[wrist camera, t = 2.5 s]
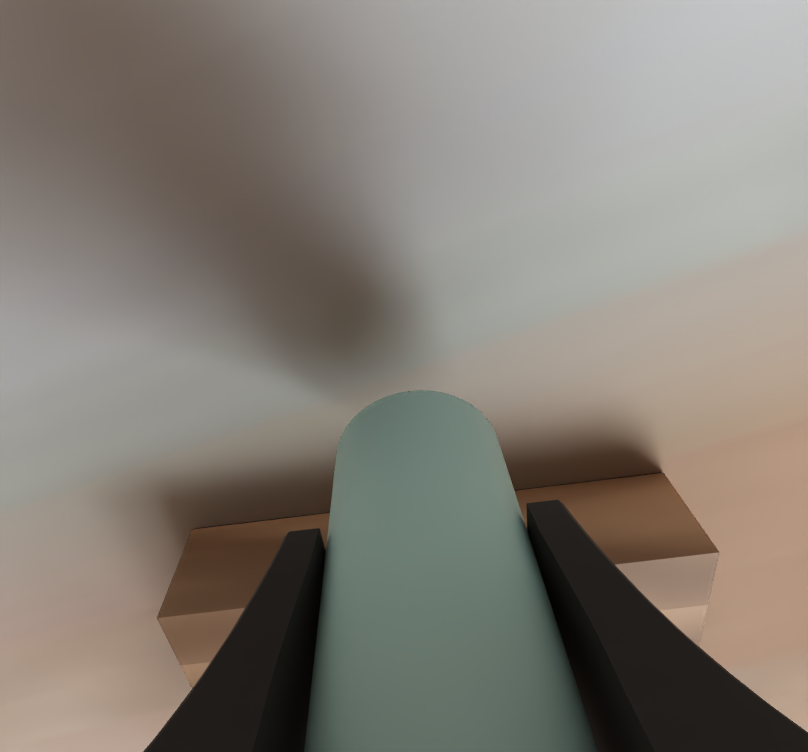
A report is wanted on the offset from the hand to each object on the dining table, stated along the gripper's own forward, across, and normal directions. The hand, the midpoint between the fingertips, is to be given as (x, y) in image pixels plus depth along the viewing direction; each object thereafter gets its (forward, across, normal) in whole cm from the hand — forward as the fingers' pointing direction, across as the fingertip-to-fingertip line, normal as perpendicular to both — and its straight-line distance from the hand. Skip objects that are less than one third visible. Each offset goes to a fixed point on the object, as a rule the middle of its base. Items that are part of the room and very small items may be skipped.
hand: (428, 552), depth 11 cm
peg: (+3, 0, 0) cm, 3 cm away
